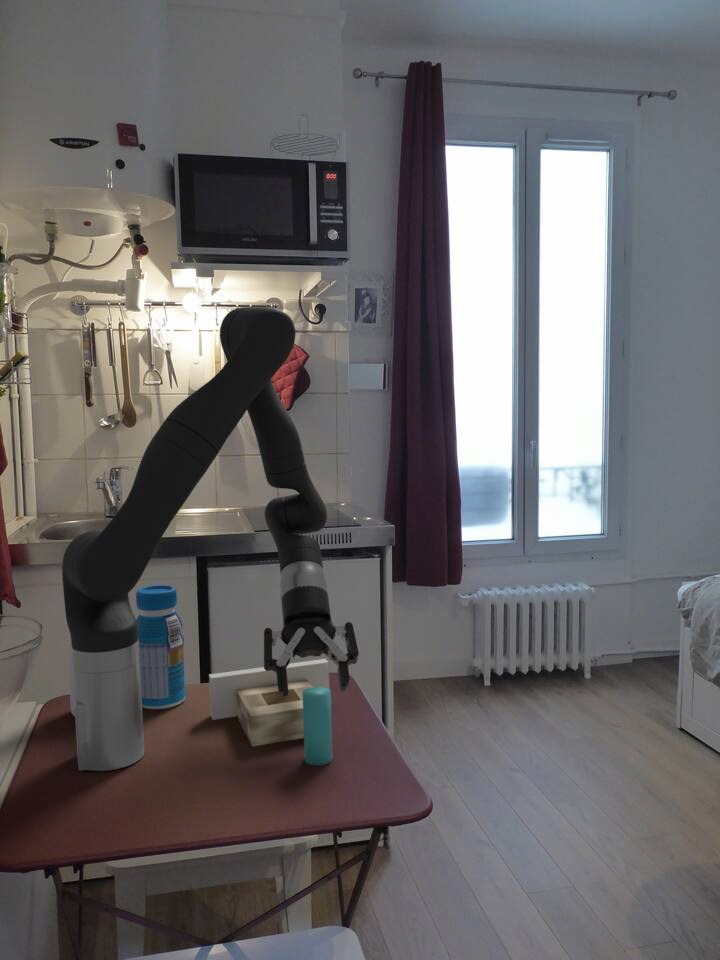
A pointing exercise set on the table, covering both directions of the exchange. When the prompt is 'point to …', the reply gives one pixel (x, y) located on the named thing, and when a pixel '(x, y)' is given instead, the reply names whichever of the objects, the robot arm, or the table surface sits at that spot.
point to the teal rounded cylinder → (317, 725)
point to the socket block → (272, 712)
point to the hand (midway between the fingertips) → (314, 691)
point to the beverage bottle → (160, 647)
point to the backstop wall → (259, 683)
